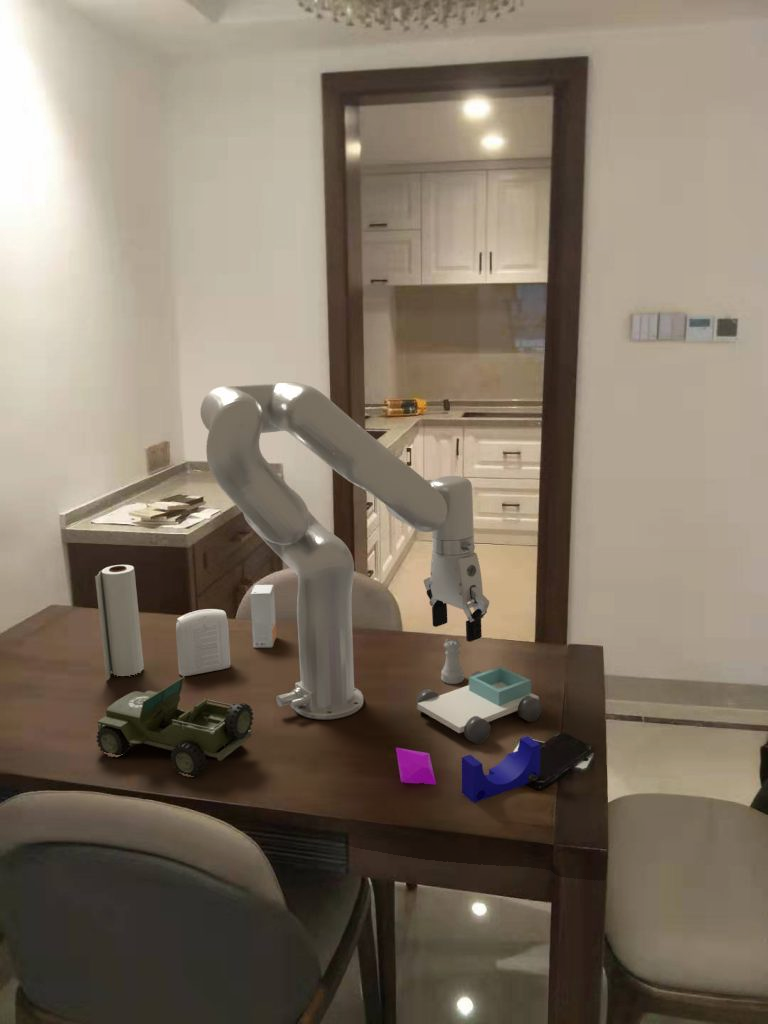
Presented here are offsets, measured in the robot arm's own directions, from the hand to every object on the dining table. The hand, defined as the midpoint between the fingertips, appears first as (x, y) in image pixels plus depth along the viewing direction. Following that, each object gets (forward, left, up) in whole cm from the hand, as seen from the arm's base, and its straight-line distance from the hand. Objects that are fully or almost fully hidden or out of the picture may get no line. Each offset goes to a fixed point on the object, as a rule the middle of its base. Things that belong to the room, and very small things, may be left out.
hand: (456, 632), depth 164 cm
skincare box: (-20, +39, -10) cm, 45 cm away
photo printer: (-36, +34, -10) cm, 51 cm away
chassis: (-7, -14, -10) cm, 18 cm away
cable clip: (-19, -32, -10) cm, 38 cm away
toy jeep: (-53, +7, -10) cm, 54 cm away
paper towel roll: (-49, +43, -10) cm, 66 cm away
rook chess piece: (-1, 0, -10) cm, 10 cm away
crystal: (-28, -23, -10) cm, 38 cm away
